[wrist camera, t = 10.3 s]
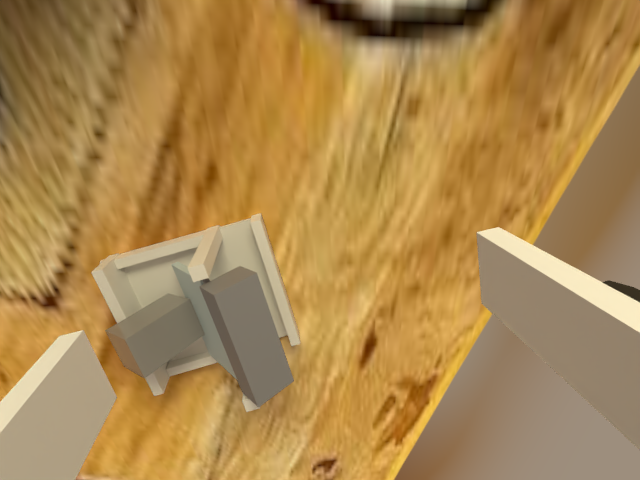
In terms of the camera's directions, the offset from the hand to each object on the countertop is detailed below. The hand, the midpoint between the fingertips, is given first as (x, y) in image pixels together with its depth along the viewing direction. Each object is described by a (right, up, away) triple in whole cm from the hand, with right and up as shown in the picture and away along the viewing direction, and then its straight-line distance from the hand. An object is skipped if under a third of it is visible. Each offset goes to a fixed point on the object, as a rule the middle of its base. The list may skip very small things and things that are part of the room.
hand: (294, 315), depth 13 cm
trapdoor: (-8, -6, +31) cm, 33 cm away
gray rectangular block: (-15, -6, +35) cm, 39 cm away
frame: (-14, -5, +38) cm, 40 cm away
